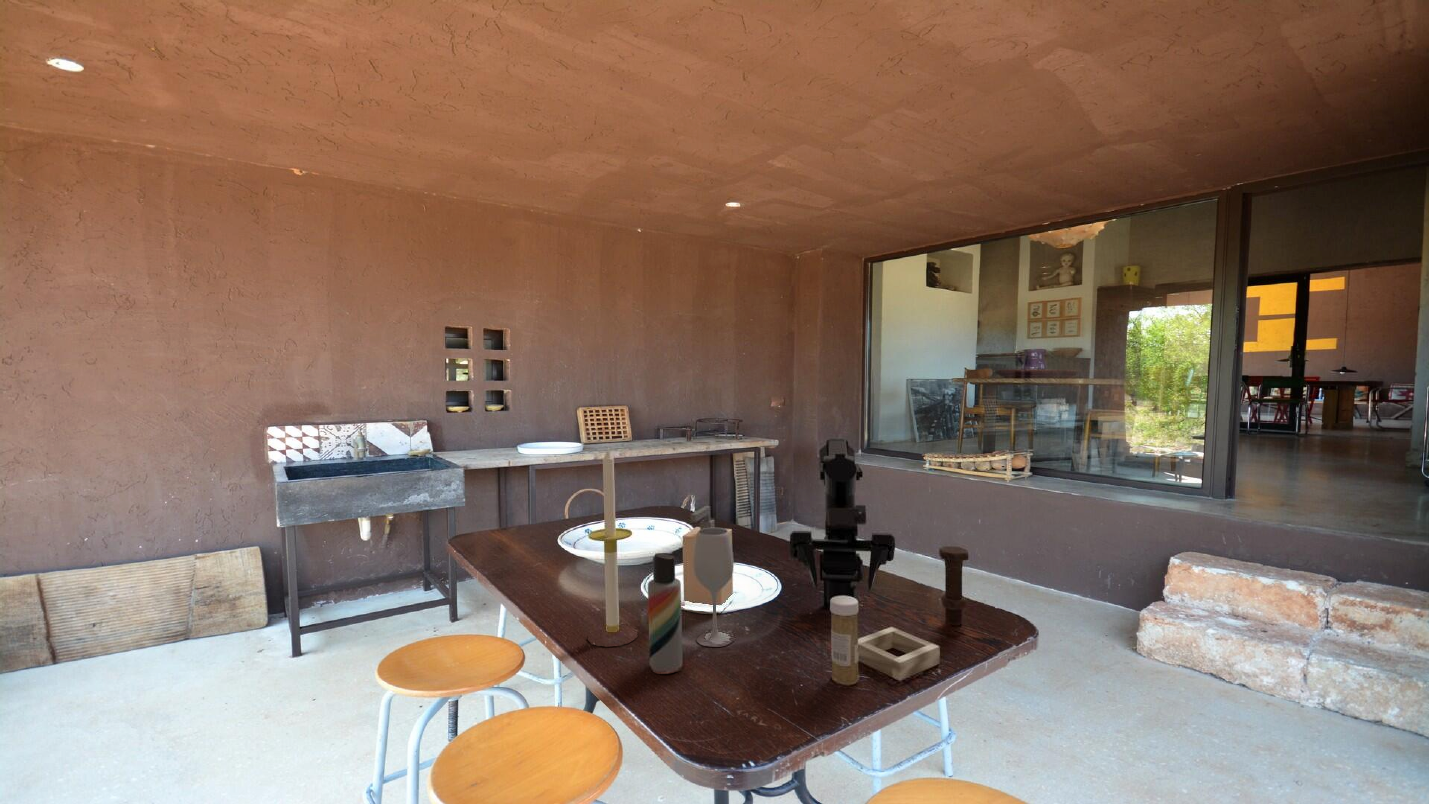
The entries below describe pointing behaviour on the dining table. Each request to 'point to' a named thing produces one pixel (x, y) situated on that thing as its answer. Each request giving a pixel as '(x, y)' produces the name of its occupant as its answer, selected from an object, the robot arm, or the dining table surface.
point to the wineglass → (714, 568)
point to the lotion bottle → (664, 615)
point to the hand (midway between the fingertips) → (842, 588)
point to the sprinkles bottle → (844, 639)
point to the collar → (902, 667)
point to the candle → (610, 544)
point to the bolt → (953, 583)
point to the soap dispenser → (691, 585)
